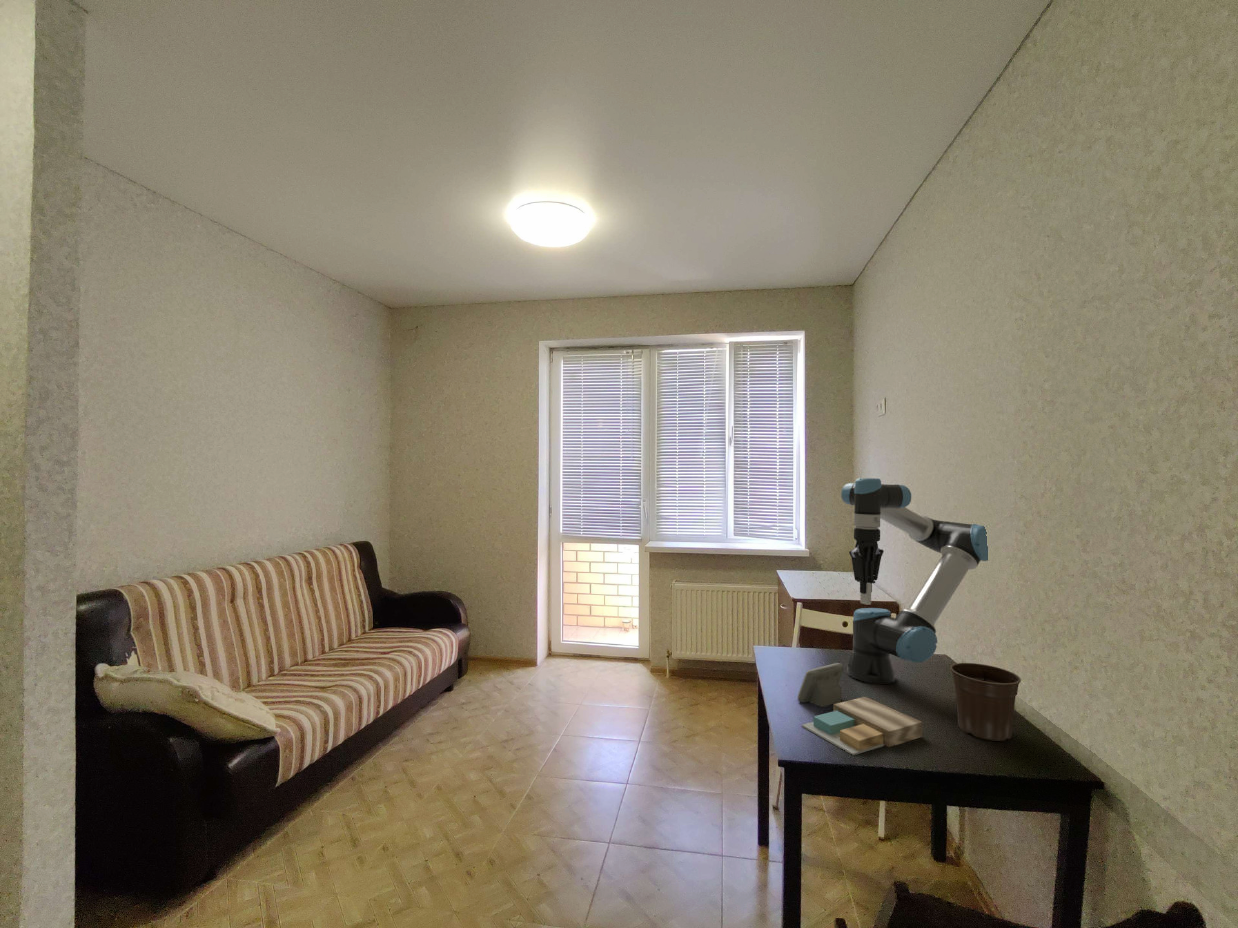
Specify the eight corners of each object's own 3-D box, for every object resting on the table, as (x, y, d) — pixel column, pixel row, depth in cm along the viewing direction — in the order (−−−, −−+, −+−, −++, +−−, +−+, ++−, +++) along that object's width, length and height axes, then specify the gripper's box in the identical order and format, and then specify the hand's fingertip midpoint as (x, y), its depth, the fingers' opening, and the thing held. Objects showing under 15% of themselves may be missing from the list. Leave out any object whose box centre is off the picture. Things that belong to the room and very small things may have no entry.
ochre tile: (863, 733, 150) (863, 723, 150) (883, 743, 144) (883, 733, 144) (839, 739, 146) (839, 730, 146) (858, 750, 140) (859, 740, 140)
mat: (831, 718, 159) (831, 716, 159) (884, 745, 144) (884, 743, 144) (801, 726, 154) (801, 724, 154) (853, 755, 139) (853, 753, 139)
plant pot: (939, 715, 163) (940, 659, 163) (1001, 720, 160) (1002, 664, 160) (964, 742, 147) (965, 680, 147) (1032, 748, 144) (1033, 686, 144)
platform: (864, 710, 165) (864, 696, 165) (921, 736, 149) (922, 721, 149) (833, 718, 159) (833, 704, 159) (889, 747, 143) (889, 731, 143)
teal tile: (836, 719, 158) (836, 710, 158) (854, 728, 152) (854, 719, 152) (813, 725, 154) (813, 716, 154) (830, 734, 148) (830, 725, 148)
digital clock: (832, 691, 179) (833, 658, 179) (853, 702, 170) (853, 667, 170) (790, 697, 173) (790, 663, 173) (809, 709, 165) (810, 673, 165)
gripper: (862, 529, 168) (861, 608, 168) (891, 528, 174) (890, 604, 174) (842, 527, 174) (841, 602, 174) (871, 525, 180) (869, 599, 180)
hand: (865, 603), depth 174 cm, fingers closed
